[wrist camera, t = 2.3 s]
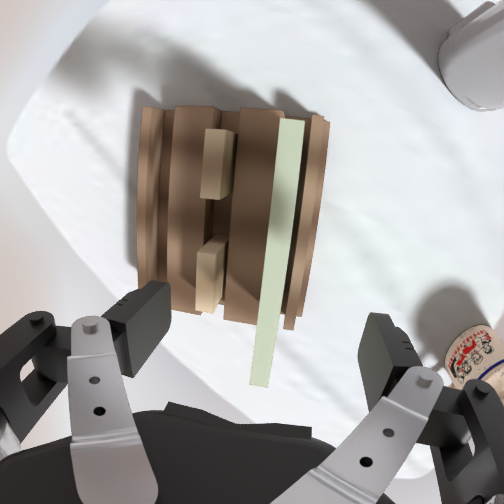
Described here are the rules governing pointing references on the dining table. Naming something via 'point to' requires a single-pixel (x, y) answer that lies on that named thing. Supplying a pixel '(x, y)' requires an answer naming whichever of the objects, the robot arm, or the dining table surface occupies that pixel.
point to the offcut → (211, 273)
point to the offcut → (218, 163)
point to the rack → (223, 206)
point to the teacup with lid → (477, 359)
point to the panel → (277, 246)
